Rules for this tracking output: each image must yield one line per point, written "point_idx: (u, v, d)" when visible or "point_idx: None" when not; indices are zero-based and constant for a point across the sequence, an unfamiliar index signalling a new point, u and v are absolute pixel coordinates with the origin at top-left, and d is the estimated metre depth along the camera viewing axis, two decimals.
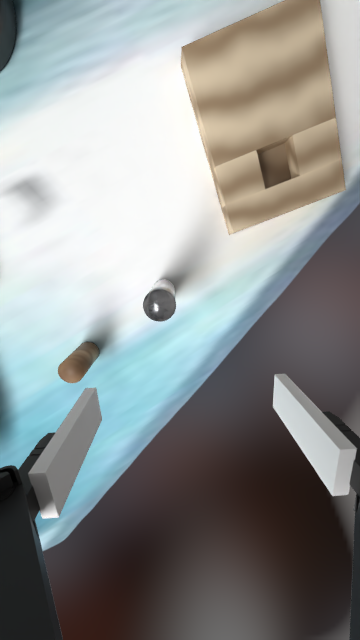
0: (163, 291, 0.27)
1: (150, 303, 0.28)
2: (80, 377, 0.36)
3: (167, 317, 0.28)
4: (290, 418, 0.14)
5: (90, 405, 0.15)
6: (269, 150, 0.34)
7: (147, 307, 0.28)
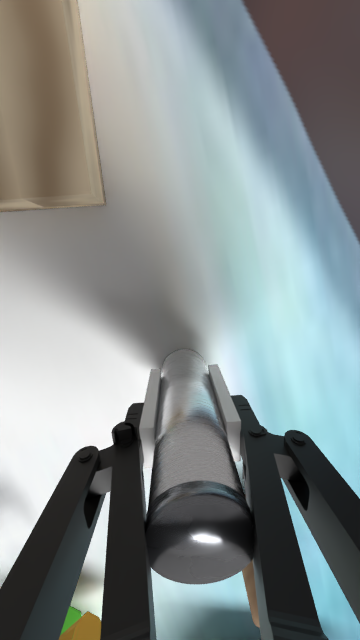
0: (155, 527, 0.08)
1: (182, 567, 0.08)
2: None
3: (251, 535, 0.08)
4: None
5: (159, 382, 0.17)
6: None
7: (195, 575, 0.08)
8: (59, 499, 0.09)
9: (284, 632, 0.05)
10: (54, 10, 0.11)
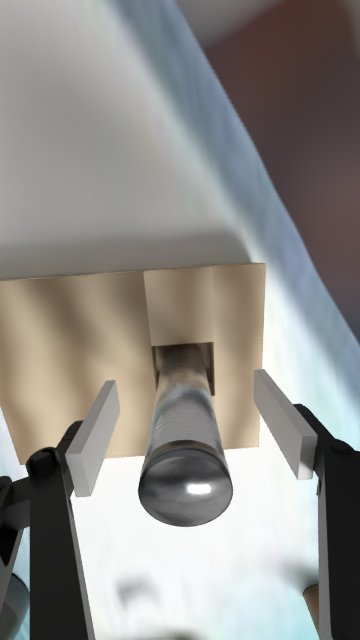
0: (148, 474, 0.09)
1: (170, 510, 0.10)
2: None
3: (226, 484, 0.09)
4: (266, 410, 0.15)
5: (112, 396, 0.16)
6: (157, 359, 0.22)
7: (181, 518, 0.10)
8: None
9: None
10: None
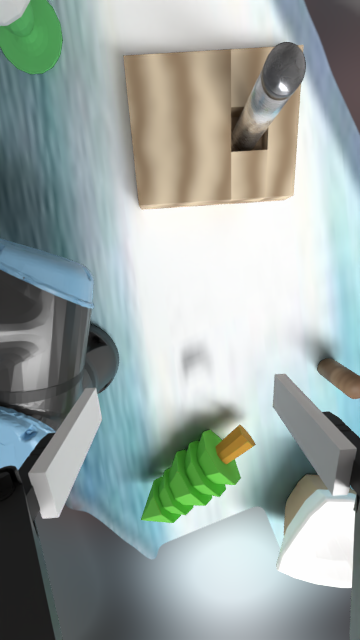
0: (269, 55, 0.21)
1: (277, 82, 0.22)
2: None
3: (303, 63, 0.22)
4: (290, 418, 0.14)
5: (90, 405, 0.15)
6: None
7: (281, 89, 0.22)
8: None
9: None
10: (294, 130, 0.32)
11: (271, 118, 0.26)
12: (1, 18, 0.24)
